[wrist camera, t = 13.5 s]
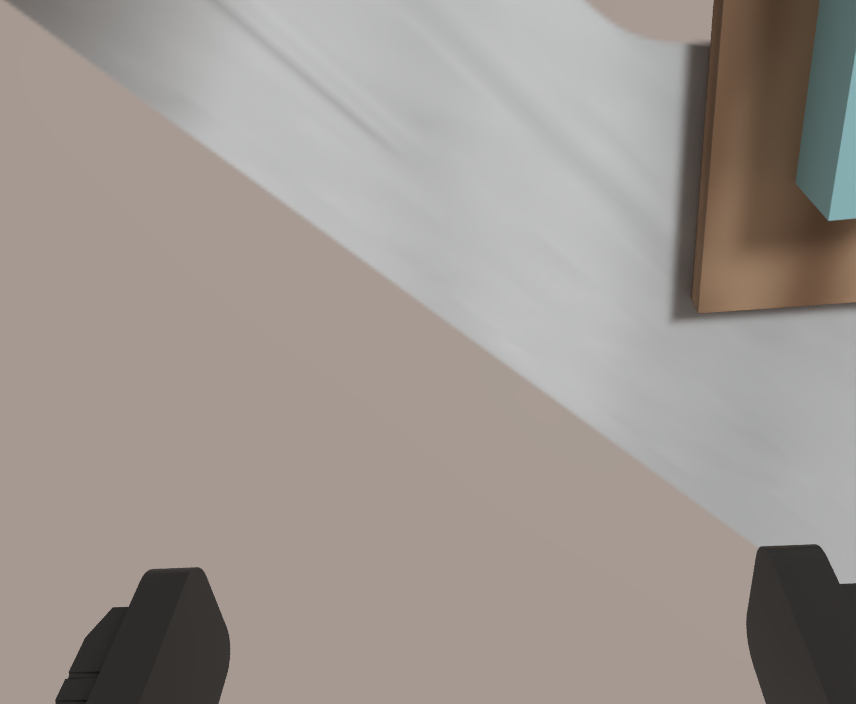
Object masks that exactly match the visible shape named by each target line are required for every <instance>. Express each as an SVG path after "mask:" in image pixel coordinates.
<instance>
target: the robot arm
mask: <svg viewBox="0 0 856 704" xmlns="http://www.w3.org/2000/svg"><path fill="white" fill-rule="evenodd" d="M746 623H747V624H746V625H747V638H748V645H749V650H750V655H751V658H752V662H753V665H754V669H755V671H756V675H757V678H758V681H759V684H760V687H761V690H762V693H763V696H764V699H765V702H766V704H856V583H854V584H839V582H838V579H837V577H836V575H835V573H834V571H833V569H832V567H831V565H830V563H829V560H828V558H827V556H826V554H825V553H824V551H823V550H822V548H821V547H820V546H818V545H816V544H811V545H786V546H761V547H759V549H758V551H757V554H756V560H755V566H754V572H753V579H752V585H751V592H750V598H749V605H748V611H747V621H746ZM229 660H230V640H229V634H228V630H227V627H226V625H225V622H224V620H223V617H222V614H221V612H220V610H219V607H218V604H217V602H216V599H215V597H214V594H213V592H212V589H211V587H210V584H209V582H208V579H207V577H206V575H205V573H204V571H203V570H202V569H201V568H198V567H196V568H169V569H151V570H149V571H147V572H146V573H145V574H144V576H143V577H142V579H141V581H140V583H139V585H138V588H137V590H136V592H135V594H134V596H133V598H132V601H131V603H130V605H129V607H114V608H112V609H111V610H110V611H109V612H108V614H107V615H106V616H105V617H104V618H103V619H102V620H101V621H100V622H99V623H98V624H97V625H96V627H95V628H94V629H93V630H92V631H91V632H90V633H89V634H88V635H87V637H86V638H85V639H84V641H83V644H82V646H81V648H80V650H79V652H78V654H77V656H76V658H75V660H74V662H73V664H72V667H71V668H70V671H69V678H68V679H65V681H64V683H63V685H62V687H61V689H60V691H59V694H58V695H57V698H56V700H55V701H56V704H218V703H219V700H220V696H221V693H222V689H223V686H224V683H225V679H226V676H227V672H228V667H229Z"/></svg>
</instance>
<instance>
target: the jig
mask: <svg viewBox="0 0 856 704" xmlns="http://www.w3.org/2000/svg"><path fill="white" fill-rule="evenodd" d="M819 1H820V0H714V6H713V18H712V31H711V45H710V58H709V71H708V85H707V98H706V111H705V125H704V138H703V151H702V165H701V178H700V191H699V204H698V218H697V231H696V244H695V258H694V271H693V284H692V301H693V303H694V305H695V307H696V309H697V312H698V313H710V312H725V311H739V310H753V309H767V308H781V307H795V306H809V305H823V304H837V303H851V302H856V218H855V219H844V220H833V221H828V220H827V219H826V218H825V217H824V215H823V214H822V213H821V212H820V211H819V210H818V209H817V207H816V206H815V205H814V204H813V203H812V202H811V201H810V199H809V198H808V197H807V196H806V195H805V194H804V193H803V191H802V190H801V189H800V188H799V187H798V186H797V185H796V184H795V182H796V175H797V167H798V160H799V152H800V145H801V137H802V130H803V122H804V114H805V107H806V99H807V92H808V84H809V77H810V69H811V62H812V54H813V47H814V39H815V32H816V24H817V17H818V9H819Z"/></svg>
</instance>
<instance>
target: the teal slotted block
mask: <svg viewBox="0 0 856 704" xmlns="http://www.w3.org/2000/svg"><path fill="white" fill-rule="evenodd" d="M795 184H796V185H797V186H798V187H799V188H800V189H801V190H802V191H803V193H804V194H805V195H806V196H807V197H808V198H809V199H810V201H811V202H812V203H813V204H814V205H815V206H816V207H817V209H818V210H819V211H820V212H821V213H822V214H823V215H824V217H825V218H826V219H827V220H828V221H833V220H844V219H855V218H856V0H820V1H819V9H818V17H817V24H816V32H815V39H814V47H813V54H812V62H811V69H810V77H809V84H808V92H807V99H806V107H805V114H804V122H803V130H802V137H801V145H800V152H799V160H798V167H797V175H796V182H795Z"/></svg>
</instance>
